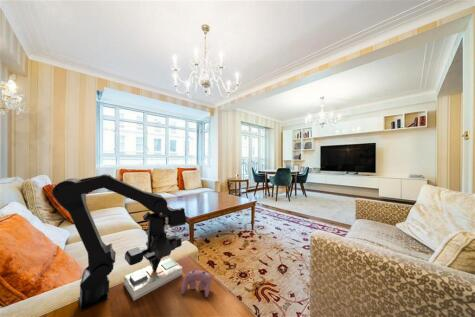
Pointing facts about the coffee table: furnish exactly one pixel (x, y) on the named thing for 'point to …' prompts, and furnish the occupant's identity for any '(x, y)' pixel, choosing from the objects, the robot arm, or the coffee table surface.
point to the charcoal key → (138, 277)
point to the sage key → (168, 265)
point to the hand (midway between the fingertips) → (154, 270)
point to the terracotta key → (152, 273)
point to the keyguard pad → (152, 279)
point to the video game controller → (199, 276)
